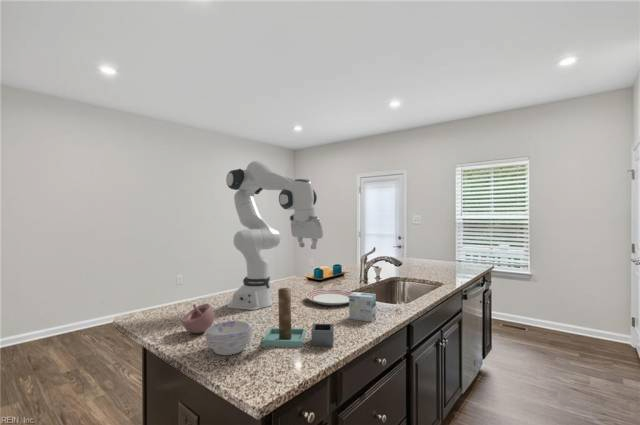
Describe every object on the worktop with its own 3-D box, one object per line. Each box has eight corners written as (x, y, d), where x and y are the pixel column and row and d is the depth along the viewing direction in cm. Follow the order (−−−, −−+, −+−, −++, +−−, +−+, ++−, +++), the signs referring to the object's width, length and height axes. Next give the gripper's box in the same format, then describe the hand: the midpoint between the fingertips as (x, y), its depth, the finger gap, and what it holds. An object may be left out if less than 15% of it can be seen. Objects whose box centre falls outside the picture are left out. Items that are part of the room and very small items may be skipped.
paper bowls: (232, 337, 119) (232, 316, 119) (261, 347, 111) (261, 324, 111) (196, 352, 107) (196, 329, 107) (225, 364, 98) (225, 339, 98)
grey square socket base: (311, 348, 109) (311, 331, 109) (313, 339, 117) (313, 323, 117) (333, 348, 109) (333, 331, 109) (333, 340, 116) (333, 323, 116)
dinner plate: (357, 294, 180) (357, 289, 180) (357, 309, 153) (357, 302, 153) (310, 293, 184) (310, 287, 184) (301, 307, 156) (301, 301, 156)
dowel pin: (277, 340, 113) (277, 291, 113) (280, 335, 118) (279, 287, 118) (290, 340, 113) (289, 291, 113) (292, 335, 118) (291, 287, 117)
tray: (262, 347, 110) (262, 340, 110) (270, 334, 122) (270, 327, 122) (302, 348, 109) (302, 341, 109) (306, 335, 121) (305, 328, 121)
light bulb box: (376, 317, 140) (376, 293, 140) (372, 322, 134) (372, 297, 134) (353, 314, 145) (353, 291, 145) (348, 319, 139) (348, 294, 139)
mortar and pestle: (178, 331, 126) (178, 302, 126) (208, 324, 133) (208, 297, 133) (186, 340, 117) (186, 310, 117) (218, 333, 124) (218, 304, 124)
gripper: (325, 215, 129) (327, 248, 130) (299, 215, 146) (301, 245, 147) (312, 217, 126) (315, 251, 126) (287, 217, 142) (290, 247, 143)
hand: (307, 248), depth 136 cm, fingers open, 8 cm apart
